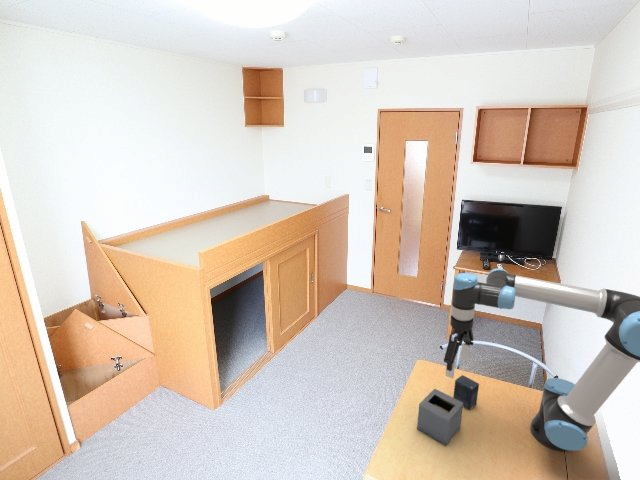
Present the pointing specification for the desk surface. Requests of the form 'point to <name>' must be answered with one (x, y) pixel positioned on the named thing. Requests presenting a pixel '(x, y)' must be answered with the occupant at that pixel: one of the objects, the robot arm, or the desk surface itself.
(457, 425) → the gray slotted cube
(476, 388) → the box
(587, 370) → the robot arm
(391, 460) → the desk surface
